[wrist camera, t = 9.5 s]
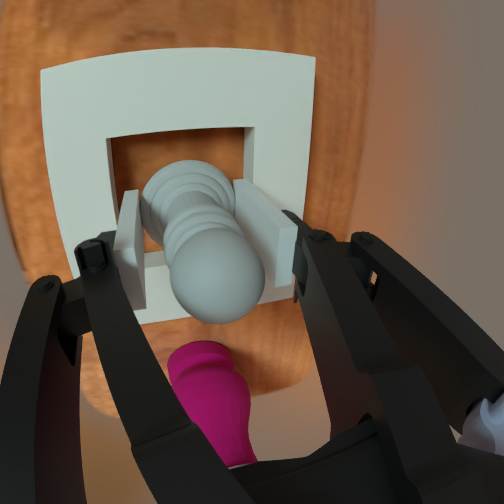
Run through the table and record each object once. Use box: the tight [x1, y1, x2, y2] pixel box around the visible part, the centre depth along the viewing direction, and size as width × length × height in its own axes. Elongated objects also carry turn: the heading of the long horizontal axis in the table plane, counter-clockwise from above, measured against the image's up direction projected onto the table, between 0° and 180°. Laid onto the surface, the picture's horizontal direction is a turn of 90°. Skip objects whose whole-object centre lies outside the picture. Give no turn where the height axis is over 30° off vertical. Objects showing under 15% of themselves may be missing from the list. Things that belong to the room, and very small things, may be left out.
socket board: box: [41, 48, 315, 324], centre depth 18 cm, size 18×16×2 cm
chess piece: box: [140, 160, 265, 324], centre depth 13 cm, size 5×5×9 cm
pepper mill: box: [167, 341, 258, 469], centre depth 19 cm, size 7×7×20 cm
